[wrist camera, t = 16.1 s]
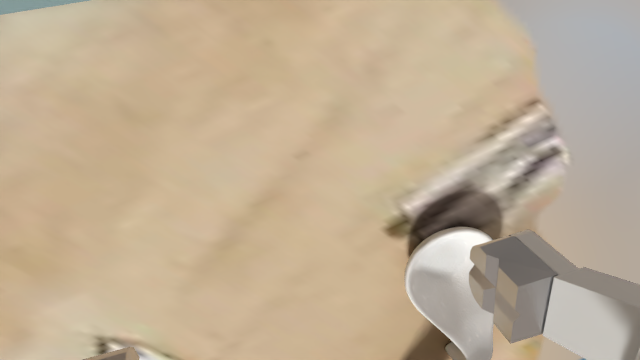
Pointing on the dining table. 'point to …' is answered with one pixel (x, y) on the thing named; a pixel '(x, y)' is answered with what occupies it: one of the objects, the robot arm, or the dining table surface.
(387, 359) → the dining table surface
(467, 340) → the spoon rest
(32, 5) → the parts tray
